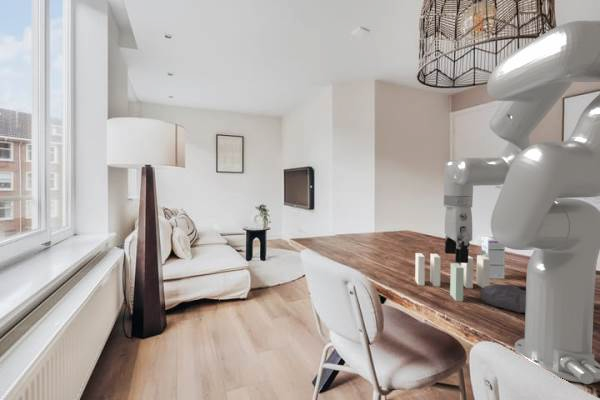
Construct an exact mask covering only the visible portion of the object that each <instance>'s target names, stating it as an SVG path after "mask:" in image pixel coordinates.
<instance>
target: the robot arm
mask: <svg viewBox="0 0 600 400" xmlns="http://www.w3.org/2000/svg"><path fill="white" fill-rule="evenodd" d="M573 83H600V20H589V19H588V20H575V21H570V22H566V23H563V24H560V25H558V26H555V27H554V28H552V29H550V30H548V31H546V32H545V33H542V35H539V36H538V37H536V38H534V39H532V40H531V41H529V42H528V43H526V44H523V45H522V46H520V47H518V48H516V50H514V51H513V52H512V51H511V53H510V54H509V53H508V55H507V56H506V57H504V58H503V59H502V60H501V61H500V62H499V63H497V65H496V66H495V67H494V69H493V70H492V71H491V73H490V74H489V77H488V80H487V84H486V89H487V94H488V96H489V97H490V98H491V99H492V100H493V101H497V102H501V104H500V106H498V108H497V110H496V112H494V114H493V116H492V117H491V118H490V121H489V128H490V130H491V131H492V132H493V134H495V135H496V136H497V137H499V138H500V139H502V140H504V141H506V142H508V143H507V146H506V147H505V149H504V150H503V151H502V152H501V154H500V155H499V156H498V157H464V158H460V159H457V160H455V159H454V160H449V161H447V162H446V163H445V164H444V183H443V184H444V185H443V186H444V187H443V207H445V216H444V235H445V238H444V240H445V241H444V253H445V254H447V255H448V254H449V255H450V254H451V255H455V257H454V258H455V262H456V263H458V264H459V263H460V264H461V263H468V256H469V250H470V244H471V243H470V242H471V241H473V213H472V208H473V201H474V198H473V197H474V196H473V195H474V186H475V187H478V186H479V187H480V186H502V187H501V189H500V192H499V194H498V197H497V199H496V202H495V205H494V208H493V211H492V214H491V218H490V230H491V234H492V237H494V238H495V239H496V241H497V242H498V243H500V244H501V245H502V246H504V247H505V248H507V249H510V250H518V251H533V252H532V254H531V255H530V257H529V260H528V263H527V267H526V281H525V282H526V284H525V287H526V310H525V313H524V315H525V316H524V317H525V318H524V319H525V320H524V338H521V339H519V340H517V341H516V342H515V343H514V351H515V354H516V353H517V354H519V355H521V356H523V357H524V358H526V359H528V360H529V361H531V362H533V363H535V364H537V365H539V366H541V367H543V368H545V369H546V370H548V371H550V372H552V373H554V374H555V375H557V376H559V377H561V378H563V379H562V380H565V381H569V382H574V383H583V384H586V385H589V384H593V383H599V382H600V363H599V362H597V360H595V356H596V355H595V354H593V352H592V350H593V331H594V330H593V329H594V310H595V309H594V307H595V289H596V287H595V286H596V272H597V266H598V265H597V264H598V259H599V255H600V209H598V208H597V207H596V206H595V205H593V204H592V203H589V202H587V201H584V200H581V198H595V197H596V198H598V197H600V93H599V94H597V96H596V97H595V98H594V99H593V100H592V101H591V102H590V103H588V105H587V106H586V107H585V108H584V109H583V111H582V112H581V114H580V115H579V118H578V121H577V123H576V125H575V126H574V128H573V131H572V132H571V134H570V136H569V137H568V138H567V139H566V140H564V141H559V140H558V141H557V140H555V141H543V142H538V143H535V144H532V145H531V139H530V135H531V134H532V133H533V131H534V130H535V129H536V128H537V127H538V126H539V124H540V123H541V122H542V121H543V120H544V119H545V117H547V115H548V113H550V111H552V109H553V108H554V106H555V105H556V104H557V103H558V102H559V101H560V100H561V98H562V97H563V96H564V95H565V93H566V92H567V91H568V90H569V89H570V87H571V86H572V84H573ZM576 198H577V199H576ZM579 198H580V199H579ZM517 354H516V355H517ZM561 378H560V379H561Z"/></svg>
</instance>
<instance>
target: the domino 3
mask: <svg viewBox="0 0 600 400" xmlns="http://www.w3.org/2000/svg"><path fill="white" fill-rule="evenodd" d="M449 274H450V282H449V283H450V284H449V285H450V286H449V296H450V297H452V298H453V300H454V301H455V302H464V286H463V280H464V268H463V267H462V266H461V264H459V263H457V262H456V263H455V262H450V273H449Z"/></svg>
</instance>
